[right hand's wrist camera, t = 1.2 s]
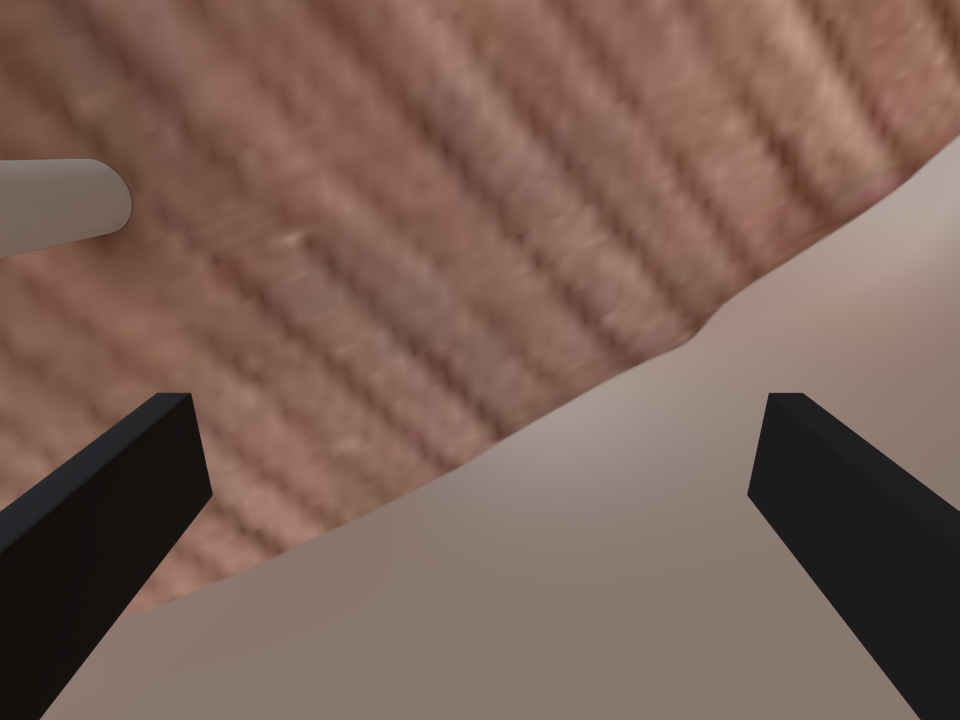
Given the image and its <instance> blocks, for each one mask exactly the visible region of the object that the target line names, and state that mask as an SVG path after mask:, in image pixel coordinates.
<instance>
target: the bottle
mask: <svg viewBox="0 0 960 720" xmlns="http://www.w3.org/2000/svg"><path fill="white" fill-rule="evenodd" d="M131 210H132V201H131V196H130V192H129V190H128V188H127V186H126V184H125V182H124V181H123V179H122V178H121V177H120V176H119V174H118V173H117V172H116V171H114V170H113V169H112V168H111V167H109V166H108V165H106V164H104V163H102V162H100V161H97V160H93V159H48V160H8V161H0V258H4V257H9V256H13V255H18V254H22V253H26V252H31V251H35V250H39V249H44V248H48V247H53V246H57V245H61V244H66V243H70V242H74V241H79V240H83V239H87V238H92V237H96V236H101V235H105V234H109V233H113V232H116V231H118V230H120V229H121V228H122V227H123V226H124V225H125V224H126V223H127V222H128V220H129V218H130V215H131Z"/></svg>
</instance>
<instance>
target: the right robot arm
mask: <svg viewBox="0 0 960 720" xmlns="http://www.w3.org/2000/svg"><path fill="white" fill-rule="evenodd" d="M212 495H213V494H212V489H211V484H210V480H209V475H208V470H207V466H206V461H205V456H204V452H203V447H202V442H201V438H200V433H199V428H198V423H197V419H196V414H195V409H194V405H193V400H192V395H191V393H157V394H155V395H154V396H153V397H151V398H150V399H149V400H147V401H146V402H145V403H143V404H142V405H141V406H139V407H138V408H137V409H135V410H134V411H133V412H131V413H130V414H129V415H127V416H126V417H125V418H124V419H122V420H121V421H120V422H118V423H117V424H116V425H114V426H113V427H112V428H110V429H109V430H108V431H106V432H105V433H104V434H102V435H101V436H100V437H98V438H97V439H96V440H94V441H93V442H92V443H90V444H89V445H88V446H87V447H85V448H84V449H83V450H81V451H80V452H79V453H77V454H76V455H75V456H73V457H72V458H71V459H69V460H68V461H67V462H65V463H64V464H63V465H61V466H60V467H59V468H57V469H56V470H55V471H53V472H52V473H51V474H50V475H48V476H47V477H46V478H44V479H43V480H42V481H40V482H39V483H38V484H36V485H35V486H34V487H32V488H31V489H30V490H28V491H27V492H26V493H24V494H23V495H22V496H20V497H19V498H18V499H16V500H15V501H14V502H13V503H11V504H10V505H9V506H7V507H6V508H5V509H3V510H2V511H1V512H0V720H40V718H41V717H42V716H43V714H44V713H45V712H46V711H47V709H48V708H49V707H50V705H51V704H52V703H53V702H54V700H55V699H56V698H57V696H58V695H59V694H60V692H61V691H62V690H63V689H64V687H65V686H66V685H67V683H68V682H69V681H70V679H71V678H72V677H73V676H74V674H75V673H76V672H77V670H78V669H79V668H80V667H81V665H82V664H83V663H84V661H85V660H86V659H87V657H88V656H89V655H90V653H91V652H92V651H93V650H94V648H95V647H96V646H97V644H98V643H99V642H100V641H101V639H102V638H103V637H104V635H105V634H106V633H107V631H108V630H109V629H110V628H111V626H112V625H113V624H114V622H115V621H116V620H117V619H118V617H119V616H120V615H121V613H122V612H123V611H124V609H125V608H126V607H127V606H128V604H129V603H130V602H131V600H132V599H133V598H134V597H135V595H136V594H137V593H138V591H139V590H140V589H141V587H142V586H143V585H144V584H145V582H146V581H147V580H148V578H149V577H150V576H151V574H152V573H153V572H154V571H155V569H156V568H157V567H158V565H159V564H160V563H161V562H162V560H163V559H164V558H165V556H166V555H167V554H168V552H169V551H170V550H171V549H172V547H173V546H174V545H175V543H176V542H177V541H178V539H179V538H180V537H181V536H182V534H183V533H184V532H185V530H186V529H187V528H188V527H189V525H190V524H191V523H192V521H193V520H194V519H195V517H196V516H197V515H198V514H199V512H200V511H201V510H202V508H203V507H204V506H205V504H206V503H207V502H208V501H209V499H210V498H211V497H212ZM747 495H748V497H749V498H750V499H751V501H752V502H753V503H754V504H755V506H756V507H757V508H758V510H759V511H760V512H761V514H762V515H763V516H764V517H765V519H766V520H767V521H768V523H769V524H770V525H771V527H772V528H773V529H774V530H775V532H776V533H777V534H778V536H779V537H780V538H781V539H782V541H783V542H784V543H785V545H786V546H787V547H788V549H789V550H790V551H791V552H792V554H793V555H794V556H795V558H796V559H797V560H798V562H799V563H800V564H801V565H802V567H803V568H804V569H805V571H806V572H807V573H808V574H809V576H810V577H811V578H812V580H813V581H814V582H815V584H816V585H817V586H818V587H819V589H820V590H821V591H822V593H823V594H824V595H825V597H826V598H827V599H828V600H829V602H830V603H831V604H832V606H833V607H834V608H835V609H836V611H837V612H838V613H839V615H840V616H841V617H842V619H843V620H844V621H845V622H846V624H847V625H848V626H849V628H850V629H851V630H852V631H853V633H854V634H855V635H856V637H857V638H858V639H859V641H860V642H861V643H862V644H863V646H864V647H865V648H866V650H867V651H868V652H869V654H870V655H871V656H872V657H873V659H874V660H875V661H876V663H877V664H878V665H879V666H880V668H881V669H882V670H883V672H884V673H885V674H886V676H887V677H888V678H889V679H890V681H891V682H892V683H893V685H894V686H895V687H896V689H897V690H898V691H899V692H900V694H901V695H902V696H903V698H904V699H905V700H906V702H907V703H908V704H909V705H910V707H911V708H912V709H913V711H914V712H915V713H916V714H917V716H918V717H919V718H920V720H960V511H958V510H957V509H955V508H954V507H953V506H951V505H950V504H949V503H947V502H946V501H945V500H943V499H942V498H941V497H940V496H938V495H937V494H936V493H934V492H933V491H932V490H930V489H929V488H928V487H926V486H925V485H924V484H922V483H921V482H920V481H918V480H917V479H916V478H914V477H913V476H912V475H910V474H909V473H908V472H906V471H905V470H904V469H903V468H901V467H900V466H899V465H897V464H896V463H895V462H893V461H892V460H891V459H889V458H888V457H887V456H885V455H884V454H883V453H881V452H880V451H879V450H877V449H876V448H875V447H873V446H872V445H871V444H869V443H868V442H867V441H866V440H864V439H863V438H861V437H860V436H859V435H858V434H856V433H855V432H854V431H852V430H851V429H850V428H848V427H847V426H846V425H844V424H843V423H842V422H840V421H839V420H838V419H836V418H835V417H834V416H832V415H831V414H830V413H829V412H827V411H826V410H825V409H823V408H822V407H821V406H819V405H818V404H817V403H815V402H814V401H813V400H811V399H810V398H809V397H807V396H806V395H805V394H803V393H769V395H768V400H767V405H766V410H765V414H764V419H763V423H762V428H761V433H760V438H759V442H758V447H757V452H756V456H755V461H754V466H753V470H752V475H751V480H750V484H749V489H748V494H747Z"/></svg>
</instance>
